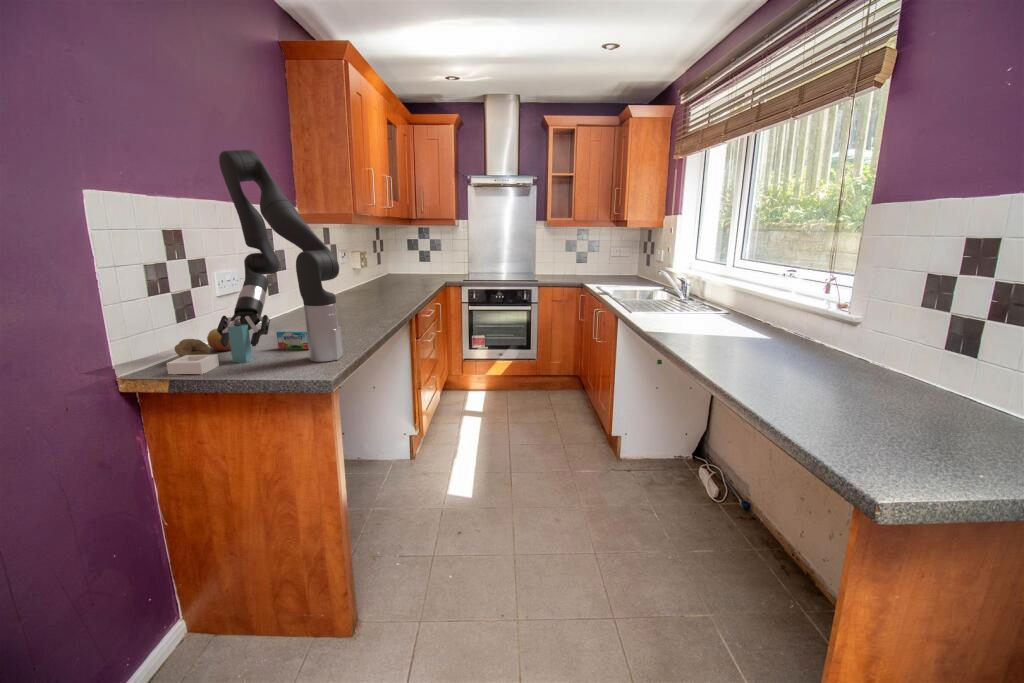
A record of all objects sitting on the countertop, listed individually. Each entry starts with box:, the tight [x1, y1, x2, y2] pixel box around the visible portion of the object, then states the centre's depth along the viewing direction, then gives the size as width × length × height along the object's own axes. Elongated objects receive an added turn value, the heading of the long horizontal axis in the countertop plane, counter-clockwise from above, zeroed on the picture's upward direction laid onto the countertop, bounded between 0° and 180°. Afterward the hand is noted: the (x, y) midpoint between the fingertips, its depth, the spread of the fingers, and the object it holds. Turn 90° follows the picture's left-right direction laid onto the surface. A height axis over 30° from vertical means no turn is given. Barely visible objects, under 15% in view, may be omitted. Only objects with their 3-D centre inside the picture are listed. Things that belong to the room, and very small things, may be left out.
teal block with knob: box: [228, 319, 254, 364], centre depth 144 cm, size 4×4×13 cm
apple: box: [206, 328, 231, 352], centre depth 159 cm, size 10×10×8 cm
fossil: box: [174, 338, 211, 357], centre depth 146 cm, size 9×4×10 cm
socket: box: [166, 353, 220, 375], centre depth 135 cm, size 9×9×4 cm
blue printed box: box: [276, 330, 309, 350], centre depth 159 cm, size 12×2×6 cm, turn 83°
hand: (238, 345), depth 143 cm, fingers open, 8 cm apart
